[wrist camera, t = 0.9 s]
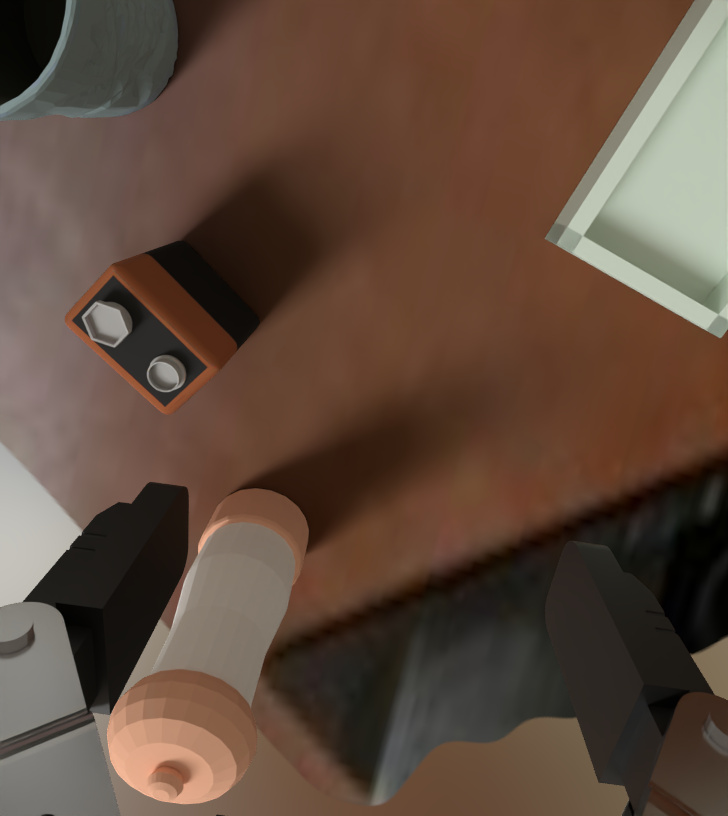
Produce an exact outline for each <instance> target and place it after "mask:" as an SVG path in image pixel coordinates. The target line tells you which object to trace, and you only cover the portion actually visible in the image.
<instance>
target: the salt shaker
mask: <svg viewBox="0 0 728 816" xmlns="http://www.w3.org/2000/svg"><path fill="white" fill-rule="evenodd" d="M308 536H309V529H308V525H307V521H306V518H305V516H304V515H303V513H302V512H301V510H300V509H299V507H298V506H297V505H296V504H294V503H293V502H292V501H291V500H289V499H288V498H287V497H286V496H283V495H281V494H279V493H276V492H274V491H272V490H265V489H258V488H252V489H245V490H239V491H237V492H235V493H233V494H231V495H229V496H227V497H226V498H225V499H224V500H223V501H222V502H221V503H220V504H219V505H218V506H217V508H216V510H215V512H214V514H213V516H212V517H211V519H210V521H209V523H208V525H207V527H206V529H205V531H204V533H203V535H202V537H201V540H200V542H199V544H198V556H197V558H196V559H195V561H194V563H193V565H192V567H191V568H190V570H189V572H188V575H187V577H186V579H185V581H184V585H183V588H182V592H181V595H180V599H179V603H178V606H177V610H176V614H175V617H174V621H173V625H172V628H171V631H170V633H169V635H168V637H167V639H166V641H165V643H164V645H163V648H162V650H161V652H160V654H159V656H158V658H157V660H156V662H155V664H154V666H153V668H152V671H151V673H150V675H149V676H147V677H145V678H143V679H142V680H140V681H139V682H137V683H136V684H135V685H134V686H133V687H132V688H131V689H130V690H128V691H127V692H126V693H125V694H124V695H123V696H122V697H121V698H120V699H119V700H118V701H117V703H116V705H115V707H114V709H113V712H112V714H111V717H110V721H109V725H108V730H107V737H108V748H109V754H110V760H111V762H112V764H113V766H114V768H115V770H116V772H117V774H118V775H119V776H120V777H122V779H124V781H125V782H126V783H128V784H129V785H130V786H131V787H133V788H135V789H137V790H138V791H140V792H141V793H143V794H145V795H147V796H150V797H153V798H155V799H156V800H159V801H164V802H172V803H180V804H192V803H202V802H206V801H209V800H212V799H216V798H218V797H219V796H221V795H222V794H223V793H225V792H226V791H228V790H229V789H230V788H231V787H233V786H234V785H235V784H236V783H237V782H238V781H239V780H240V779H241V778H242V776H243V775H244V773H245V772H246V769H247V768H248V767H249V765H250V763H251V761H252V759H253V757H254V755H255V753H256V745H257V729H256V723H255V719H254V716H253V714H252V711H251V708H250V707H251V704H252V700H253V697H254V693H255V689H256V686H257V682H258V679H259V675H260V672H261V668H262V665H263V661H264V657H265V654H266V652H267V650H268V648H269V646H270V644H271V642H272V640H273V638H274V636H275V633H276V631H277V629H278V627H279V625H280V623H281V621H282V619H283V617H284V615H285V613H286V610H287V607H288V602H289V597H290V592H291V588H292V585H294V584H295V582H296V580H297V578H298V576H299V575H300V573H301V569H302V565H303V561H304V557H305V553H306V548H307V544H308Z"/></svg>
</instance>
